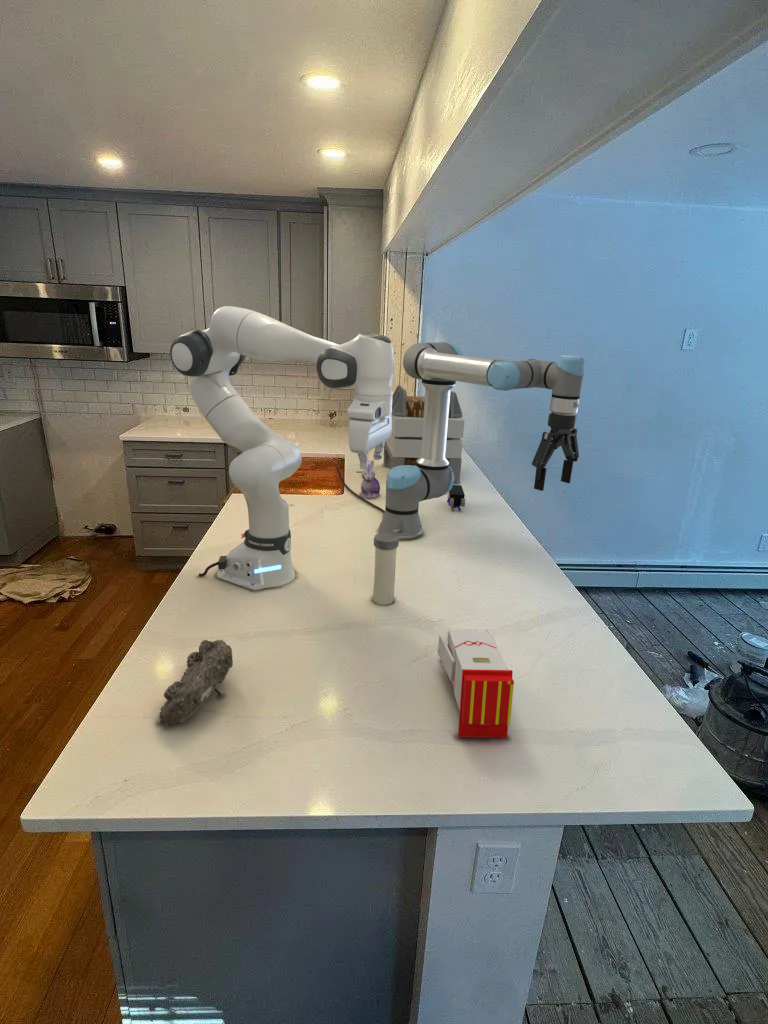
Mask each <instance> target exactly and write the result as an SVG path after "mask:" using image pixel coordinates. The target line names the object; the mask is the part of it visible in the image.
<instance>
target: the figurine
mask: <svg viewBox="0 0 768 1024" xmlns="http://www.w3.org/2000/svg"><path fill="white" fill-rule="evenodd" d="M374 465H375V459H373V460H370V461H369V467H368V468H367V469H362V472H361V478H362V481H361V483H360V490H361V491H360V495H359V496H360V497H362V498H364V499H373V498H377V497H379V496H380V491H381V484H380V481H379V480H378V478H376V473H375V471H374Z"/></svg>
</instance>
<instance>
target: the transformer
mask: <svg viewBox="0 0 768 1024" xmlns="http://www.w3.org/2000/svg"><path fill="white" fill-rule="evenodd" d="M407 394H408V393H407V390H406V389H404V388H403V387H402V385H399V384H398V385H397V386H396V388H395V390H394V392H393V397H392V434H391V437H390V438H389V439H387V440H386V441H385V445H384V448H383V466H384V467H388V468H389V470H390V469H392V468H394V467H396V466H401V465H404V466H405V465H413V466H416V461H417V459H418V458H420V457H421V449H422V434H423V419H424V404H425V396H415V395H414V396H413V395H412V396H411V395H407ZM464 429H465V419H464V418H463V411H462V408H461V405H460V402H459V398H458V395H457V392H455V391H453V390H451V392H450V404H449V416H448V428H447V441H446V453H445V458H446V459H447V461H448V462H449V466H450V467H451V469H452V473H454V484H455V483H456V484H459V483H461V472H462V461H463V460H462V453H463V442H464V441H463V440H462V439H463V438H464V431H465V430H464Z"/></svg>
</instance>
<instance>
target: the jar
mask: <svg viewBox="0 0 768 1024" xmlns="http://www.w3.org/2000/svg"><path fill="white" fill-rule="evenodd" d="M397 548H398V547H397ZM397 548H395V549H392V550H383V549H379V548H376V547H375V546H374V569H373V570H374V571H373V572H374V573H373V598H372V601H373V602H374V603H376V604H378V605H383V606H385V605H390V604H393V602H394V601H395V584H396V567H397V566H396V565H397Z"/></svg>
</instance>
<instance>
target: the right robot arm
mask: <svg viewBox="0 0 768 1024" xmlns="http://www.w3.org/2000/svg"><path fill="white" fill-rule="evenodd" d="M585 365H586V360H585V358H584V357H582V356H578V355H566V354H565V355H564V354H563V355H558V356H557V357H556V360H555V361H549V360H541V359H536V358H524V359H521V360H506V359H505V360H504V359H503V360H502V359H496V358H487V357H479V356H471V355H464V354H463V352H462V350H461V349H460V347H459V346H457V345H456V344H455V343H451V342H445V341H443V342H442V341H441V342H440V341H439V342H438V341H437V342H417V343H414V344H412V345H411V346H409V347H408V348H407V350H406V351H405V353H404V355H403V358H402V366H403V369H404V372H405V373H406V374H407V375H408V376H409V377H411V378H412V379H415V380H421V385H422V386H423V387H424V389H425V392H424V397H425V404H424V419H423V434H422V449H421V457H420V458H418V459H417V461H416V466H413V465H401V466H396V467H394V468H392V469H390V468H389V470H388V472H387V474H386V479H385V504H384V505H385V507H384V508H385V509H383V508H382V507H380V506H378V505H376V504H374V503H372V502H370V501H369V500H367V499H366V498H362V496H361V495H359V494H358V493H356V492H354V491H353V490H352V489H351V488H350V487H349V486H348V485H347V484H346V482H345V480H344V479H343V476H342V474H341V471H340V469H339V467H338V466H337V465H336V466H335V469H336V471H337V475H338V477H339V480H340V481H341V483H342V485H343V486H344V488H345V489H346V490H348V491H349V492H350V493H351V494H352V495H354V496H355V497H357V498H358V499H360V500H361V501H363V502H364V503H366V504H368V505H370V506H371V507H373V508H375V509H376V510H379V511H380V512H381V513H383V515H382V519H381V522H379V526H378V533H392V534H395V535H397V536H398V537H399V541H410V540H415V539H418V538H420V537H421V536H422V535H423V525H422V524H421V518H420V515H419V507H420V506H419V505H420V502H423V501H427V500H431V499H437V498H440V497H443V496H446V495H448V493H449V491H450V490H451V489H452V487H453V485H455V483H454V473H452V469H451V467H450V466H449V462H448V461H447V459H446V458H445V453H446V441H447V428H448V416H449V404H450V392H451V391H452V389H453V388H454V387H455V386H456V384H457V382H461V383H465V384H473V385H479V386H487V387H491V388H492V389H494V390H496V391H503V392H504V391H511V390H520V389H532V388H533V389H534V388H539V389H546V390H551V398H550V404H549V413H548V418H547V419H548V420H547V426H548V427H549V428H550V431H549V432H548V431H543V432H542V435H541V440H540V442H539V445H538V447H537V449H536V452H535V454H534V457H533V460H532V461H531V466H533V467H535V475H534V477H535V478H534V485H533V489H534V490H537V491H539V492H543V491H544V489H545V484H546V483H545V482H546V476H547V468H546V466H547V465H548V463H549V461H550V459H551V457H552V456H553V454H554V453H555V451H556V450H557V449H558V448H560V447H561V449H562V452H563V455H564V458H565V459H563V463H562V468H561V469H562V470H561V475H560V482H562V483H566V484H571V478H572V472H573V466H574V463H576V462H578V461H579V457H580V453H579V444H578V428H576V423H577V419H578V416H577V414H578V412H579V411H578V410H579V406H580V397H581V391H582V385H583V380H584V376H585Z"/></svg>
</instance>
